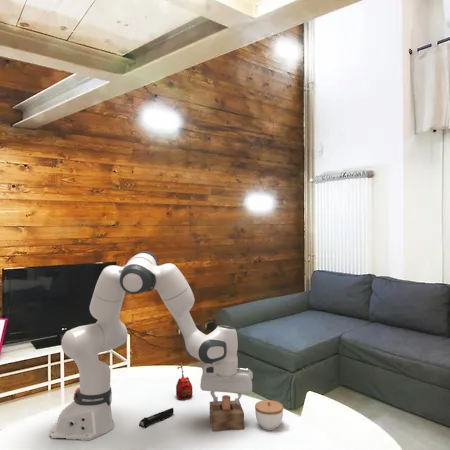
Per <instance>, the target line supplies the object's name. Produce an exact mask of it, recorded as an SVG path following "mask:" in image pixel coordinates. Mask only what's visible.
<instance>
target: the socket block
mask: <svg viewBox="0 0 450 450" xmlns="http://www.w3.org/2000/svg"><path fill="white" fill-rule="evenodd" d="M209 421H210V425H211V426H210V427H211V431H212V432H222V431H238V430H240V431H241V430H242V431H243V430H245V412H244V410H243V407H242V403H241V401H240V400H239V405H237V404H235V399H234V400H230V410H222V400H218V402H217V403H213V400H212V401H209Z"/></svg>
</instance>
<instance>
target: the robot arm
mask: <svg viewBox="0 0 450 450" xmlns="http://www.w3.org/2000/svg"><path fill="white" fill-rule="evenodd" d="M153 290H156V292H157V293H158V295H159V296H160V298H161V301H162V302H163V303H164V305H165V307H166V308H167V310H168V311H169V313H170V314H171V315H172V318H173V319H174V321H175V323H176V326H177V328H178V329H179V332H180V334H181V336H182V342H183V343H182V344H183V349H184V351H185V353H186V354H187V355H188V356H190V357H193V358H195V359H196V360H198V361H200V362H202V363H203V364H205V365H204V367H203V372H202V375H201V378H200V384H199V385H200V390H201V391H202V392H203V391H205V392H210V395H211V397H212V401H213V403H217V402H218V401H219V397H218V396H216V394H215V393H217V392H218V393H227V394H228V393H230V394H237V396H238V397H237V398H236V397H235V399H234V400H235V404H237V405H239V401H240V400H241V397H242V395H250V394H251V393H252V392H253V381H252V380H253V379H254V378H253V377H254V373H253V371H252V370H251V369H250V368H244V367H243V368H242V367H239V366H238V365H239V364H238V361H239V360H238V359H239V358H238V354H237V353H238V348H239V347H238V346H239V345H238V344H239V341H238V333H237V330H236V328H235V327H232V326H231V325H226V324H220V325H217V326H216V328H215V329H214V330H213V331H211V332H210V333H208V334H205V333H203V332H202V331H201V330H199V329H198V328H197V325H196V324H195V321H194V319H193V317H192V315H191V313H190V310H191V309H192V308H193V306H194V304H195V295H194V293H193V291H192V288H191V287H190V285H189V283H188V281H187V279H186V277H185V276H184V274H183V273H182V272H181V270H180V269H179V268H178V266H176V265H175V264H174V263H170V262H169V263H164V264H161V265H159V262H158V260H157V257H156V256H155V254H154V253H152V252H150V251H146V250H145V251H144V250H143V251H139V252H137V253H135V254H134V255H132V256H131V257H130V258H129V259H128V260H127V261H125V263H124V265H123V266H120V265H113V264H112V265H111V264H110V265H108V266H105V267H104V268H103V269H102V271H101V272H100V274H99V277H98V279H97V282H96V284H95V288H94V290H93V293H92V297H91V300H90V304H89V308H88V309H89V313H90V315H91V316H92V317H93V318H94V319H96V320H97V321H96V322H95V323H89V324H85V325H79V326H77V327H73V328H71V329H69V330H67V331H65V333H64V334H63V336H62V338H61V344H60V345H61V348H62V349H61V350H62V352H63V353H64V355H65V356H66V357H68V358H70V359H72V360H73V361H74V362H75V364H76V366H77V368H78V373H79V376H78V377H79V387H77V388H76V389H75V391H74V393H73V397H72V398H73V401H72V402H71V403H70V404H68V405H67V406H65V408H64V409H63V410H62V411H61V412H60V414H59V415H58V417H57V420H56V422H55V423H54V424H53V426H52V427H51V429H50V431H49V437H50V436H51V437H52V438H51V437H50V438H51V439H53V438H66V439H65V440H76V439H81V440H82V441H91V440H93V439H95V438H97V437H98V436H99V437H100V436H101V435H104V434H107V433H108V432H110V431H111V430H112V429H113V428H114V427H115V423H114V419H113V415H112V406H111V404H112V401H113V400H112V395H113V394H112V387H111V372H112V371H111V368H110V366H109V365H108V363H107V362H104V361H102V360H99V359H100V358H99V353H103V352H106V351H108V352H109V351H112V350H115V349H117V348H119V347H121V346H123V345H124V344H125V343H126V342H127V340H128V334H129V333H128V329H127V326H126V325H125V324H124V322H122V320H121V319H120V316H121V315H120V313H121V310H122V306H123V302H124V298H125V296H126V293H127V294H130V295H140V294H142V293H148V292H152V291H153ZM81 440H80V441H81Z"/></svg>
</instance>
